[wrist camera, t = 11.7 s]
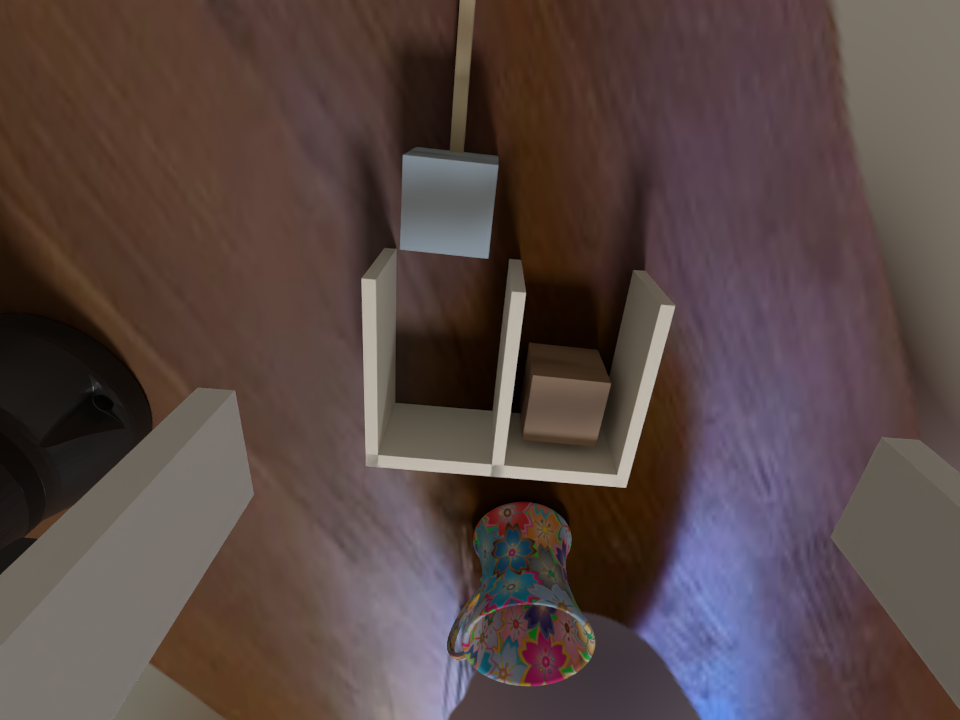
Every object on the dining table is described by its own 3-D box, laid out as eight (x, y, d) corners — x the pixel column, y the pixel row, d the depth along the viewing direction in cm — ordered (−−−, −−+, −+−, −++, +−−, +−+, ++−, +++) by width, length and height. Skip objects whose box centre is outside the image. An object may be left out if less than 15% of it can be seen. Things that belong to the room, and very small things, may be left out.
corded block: (489, 237, 33) (486, 294, 24) (412, 229, 33) (378, 283, 24) (533, -169, 25) (556, -347, 15) (429, -182, 25) (384, -369, 15)
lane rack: (607, 431, 40) (626, 487, 34) (384, 412, 40) (366, 466, 34) (645, 270, 34) (675, 305, 28) (384, 247, 34) (361, 278, 28)
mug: (536, 474, 42) (547, 582, 33) (594, 541, 45) (620, 658, 36) (423, 535, 46) (405, 649, 36) (485, 594, 49) (483, 713, 40)
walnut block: (584, 407, 39) (595, 447, 35) (519, 401, 39) (522, 439, 35) (597, 349, 37) (611, 383, 33) (528, 342, 37) (533, 375, 32)
